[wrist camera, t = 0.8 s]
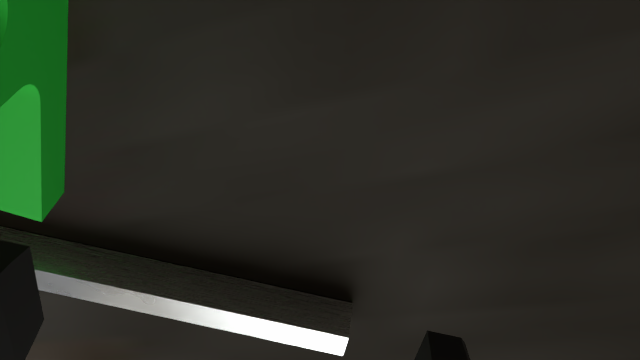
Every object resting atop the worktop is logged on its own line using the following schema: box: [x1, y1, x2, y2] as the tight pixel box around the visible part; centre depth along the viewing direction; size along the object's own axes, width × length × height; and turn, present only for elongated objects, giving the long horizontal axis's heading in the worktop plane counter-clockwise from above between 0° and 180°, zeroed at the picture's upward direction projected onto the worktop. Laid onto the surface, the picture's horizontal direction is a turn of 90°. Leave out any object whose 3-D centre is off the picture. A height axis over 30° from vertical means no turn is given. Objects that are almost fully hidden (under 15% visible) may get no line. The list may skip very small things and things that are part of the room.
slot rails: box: [0, 226, 353, 356], centre depth 19 cm, size 20×20×2 cm
